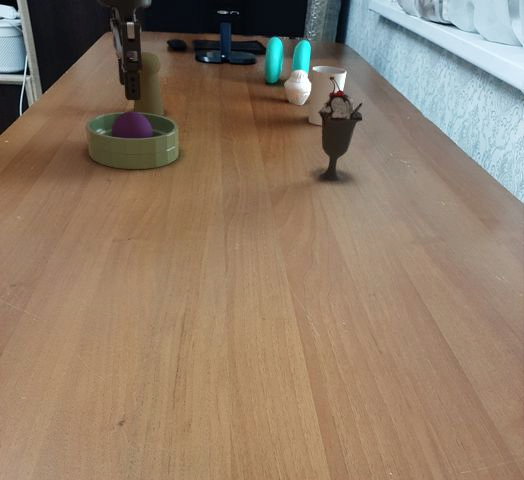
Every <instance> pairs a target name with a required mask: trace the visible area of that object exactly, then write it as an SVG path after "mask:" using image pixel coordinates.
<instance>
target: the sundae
mask: <svg viewBox="0 0 524 480" xmlns="http://www.w3.org/2000/svg"><path fill="white" fill-rule="evenodd" d="M332 79H333V80H334V77H330V80H331V81H332V82H333V80H332ZM334 81H335V80H334ZM335 82H336V81H335ZM333 83H334V82H333ZM336 85H337V87H338V89H339V86H338V84H337V82H336ZM334 91H335V83H334V90H333V92H332V93H330V94H329V98H330V99H329V100H328V101H327V102H326V103H324V106H323V107H322V110H320V111H319V112H318V113H319V114H320V116H321V118H322V126H321V146H322V150H323V152H324V154H326V155H327V156H328V158H329V160H328V166H327V169H326V170H325V171H324V172H321V173H319V174H318V176H319V178H321V179H322V180H324V181H328V182H339V181H342V180H343V177H342V176H341V174H339V173H338V172H337V163H338V159H339V158H340V157H343V156H344V155H345V154H346V153H347V152H348V150H349V147H350V145H351V142H352V138H353V135H354V131H355V128H356V126H357V123H358V122H362V121H363V115H362V113H361V112H359V110H360V109H361V108H362V106H363V102H360V103H359V104H358V105H357V107H355V106H354V100H353V99H352V97H350V95H348V94H346V93H345V92H344V90H343V91H342V90H340V89H339V91H337V92H336V93H335V92H334ZM354 107H355V108H354Z"/></svg>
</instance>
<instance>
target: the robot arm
mask: <svg viewBox="0 0 524 480" xmlns="http://www.w3.org/2000/svg"><path fill="white" fill-rule="evenodd" d="M96 1H97V3H98V4H99V5H100V6H103V7H107V8H112V9H111V14H112V18H110V30H111V33H112V43H113V48H114V49H115V56H116V58H117V65H118V78H119V80H118V81H119V83H120V85H121V86H124V98H125V100H127V101H134V100H140V98H141V91H140V72H141V71H142V68H143V64H142V59H141V55H142V52H143V47H142V38H141V37H142V24H141V22H140V21H139V19H137V18H136V10H137V9H147V8H149V7H150V6H151V5H152V0H96ZM133 57H134V58H135V60H136V61H133Z"/></svg>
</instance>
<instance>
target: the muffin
mask: <svg viewBox="0 0 524 480" xmlns="http://www.w3.org/2000/svg"><path fill="white" fill-rule="evenodd" d="M283 88H284V92H285V95H286V97H287V100H288V103H289V104H292V105H295V106H303V105H305V103H306V101H307V100H308V98H309V97H310V93H311V81H310V80H309V78H308V76H307V73H306V72H305V71H303V70H300V69H299V70H295V71H293V72H292V71H291V73H290V76H289V78H288V79H287V80H286V81H285V82H284V84H283Z"/></svg>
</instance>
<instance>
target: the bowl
mask: <svg viewBox="0 0 524 480" xmlns="http://www.w3.org/2000/svg"><path fill="white" fill-rule="evenodd" d="M125 112H126V111H119V112H111V113H105V114H100V115H97V116H94V117H91V118H90V119H88V121H86V124H85V131H86V141H87V149H88V150H87V151H88V156H89V157H90V159H92V161H94V162H96V163H98V164H100V165H103V166H106V167H110V168H116V169H124V170H147V169H153V168H154V169H155V168H160V167H164V166H167V165H169V164H171V163H173V162H175V161H176V160H177V159H178V157H179V156H180V154H179V153H180V152H179V150H180V149H179V126H178V123H177V122H175V121H174V120H173V119H171V118H169V117H167V116H164V115H163V116H160V115H155V114H149V113H141V112H137V113H139V114H141V115H143V116H144V117H145V118H146V119H147V120H148V121H149V123H150V125H151V127H152V131H153V137H151V138H140V139H138V138H119V137H112V126H113V123H114V121H115V120H116V118H117V117H118V116H119V115H121V114H123V113H125Z"/></svg>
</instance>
